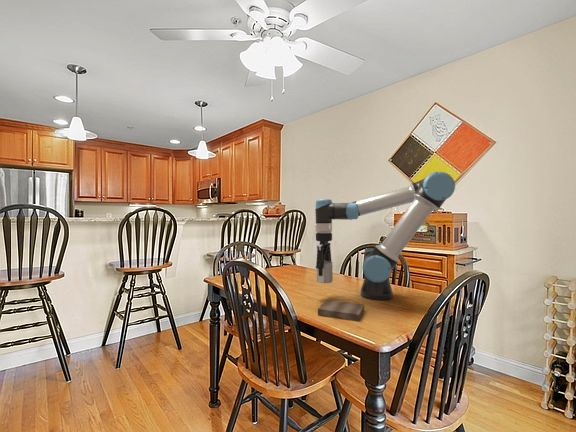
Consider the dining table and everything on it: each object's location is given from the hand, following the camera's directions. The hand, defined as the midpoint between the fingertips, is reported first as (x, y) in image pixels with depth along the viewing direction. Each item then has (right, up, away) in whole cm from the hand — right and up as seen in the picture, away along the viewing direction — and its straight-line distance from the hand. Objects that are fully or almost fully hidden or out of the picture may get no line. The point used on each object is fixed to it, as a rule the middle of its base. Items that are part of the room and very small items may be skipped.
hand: (324, 280), depth 140 cm
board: (+5, -9, -18) cm, 21 cm away
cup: (0, 0, 0) cm, 0 cm away
